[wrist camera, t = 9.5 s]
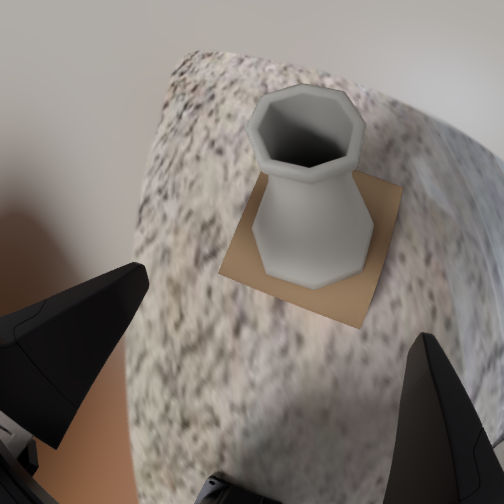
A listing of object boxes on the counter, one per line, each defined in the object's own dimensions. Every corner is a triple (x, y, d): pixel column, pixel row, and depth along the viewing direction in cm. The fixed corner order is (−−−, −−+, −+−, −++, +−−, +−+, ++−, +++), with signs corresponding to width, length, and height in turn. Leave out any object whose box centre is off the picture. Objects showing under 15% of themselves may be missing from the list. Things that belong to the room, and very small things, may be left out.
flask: (253, 175, 18) (193, 60, 8) (366, 171, 16) (399, 47, 6) (251, 290, 16) (160, 266, 7) (376, 288, 15) (461, 260, 5)
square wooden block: (353, 326, 17) (360, 329, 14) (232, 278, 20) (218, 273, 17) (392, 204, 18) (403, 187, 15) (278, 167, 21) (271, 146, 18)
